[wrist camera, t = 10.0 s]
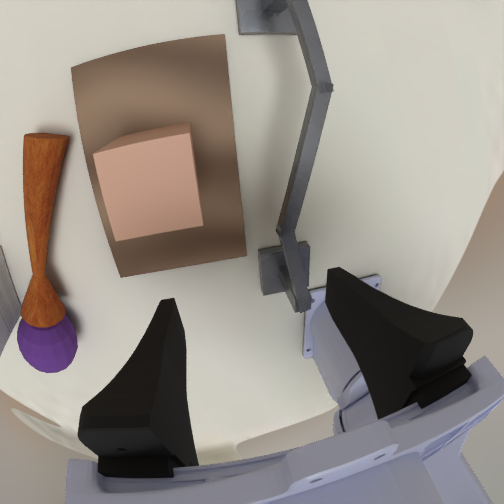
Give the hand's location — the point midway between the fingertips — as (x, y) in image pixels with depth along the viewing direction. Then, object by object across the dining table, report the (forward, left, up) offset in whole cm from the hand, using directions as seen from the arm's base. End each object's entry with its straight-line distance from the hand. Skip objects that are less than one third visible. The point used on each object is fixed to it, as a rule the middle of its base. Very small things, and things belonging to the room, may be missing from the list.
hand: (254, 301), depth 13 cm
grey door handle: (+5, -4, -9) cm, 11 cm away
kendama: (0, +15, -10) cm, 18 cm away
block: (+5, +4, -9) cm, 11 cm away
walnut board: (+5, +4, -9) cm, 11 cm away
